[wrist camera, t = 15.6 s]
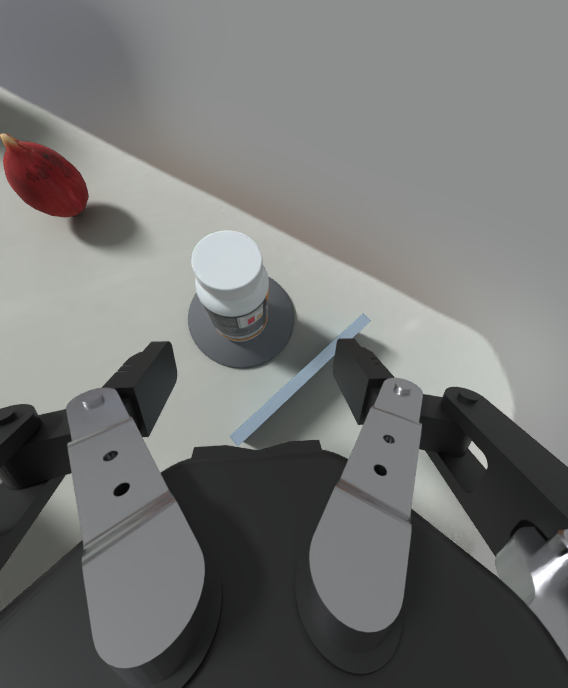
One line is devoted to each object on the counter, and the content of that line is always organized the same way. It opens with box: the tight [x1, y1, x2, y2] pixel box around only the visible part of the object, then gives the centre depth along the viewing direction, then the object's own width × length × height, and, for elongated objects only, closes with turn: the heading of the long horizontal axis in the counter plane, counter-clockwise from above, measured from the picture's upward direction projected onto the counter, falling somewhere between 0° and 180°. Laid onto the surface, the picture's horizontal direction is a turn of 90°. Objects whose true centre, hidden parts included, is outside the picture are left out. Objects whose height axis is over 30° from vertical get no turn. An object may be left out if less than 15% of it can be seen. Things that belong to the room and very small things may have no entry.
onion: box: [0, 134, 89, 217], centre depth 24 cm, size 6×6×8 cm
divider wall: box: [230, 313, 371, 446], centre depth 23 cm, size 16×1×4 cm, turn 133°
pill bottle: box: [191, 231, 269, 341], centre depth 21 cm, size 6×6×10 cm
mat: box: [188, 277, 294, 368], centre depth 26 cm, size 11×11×1 cm
